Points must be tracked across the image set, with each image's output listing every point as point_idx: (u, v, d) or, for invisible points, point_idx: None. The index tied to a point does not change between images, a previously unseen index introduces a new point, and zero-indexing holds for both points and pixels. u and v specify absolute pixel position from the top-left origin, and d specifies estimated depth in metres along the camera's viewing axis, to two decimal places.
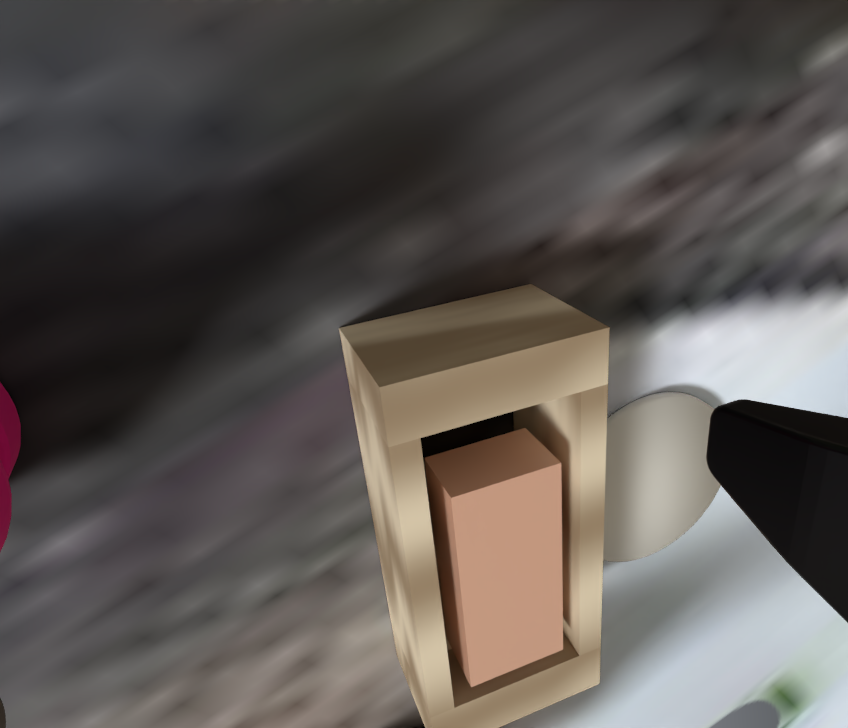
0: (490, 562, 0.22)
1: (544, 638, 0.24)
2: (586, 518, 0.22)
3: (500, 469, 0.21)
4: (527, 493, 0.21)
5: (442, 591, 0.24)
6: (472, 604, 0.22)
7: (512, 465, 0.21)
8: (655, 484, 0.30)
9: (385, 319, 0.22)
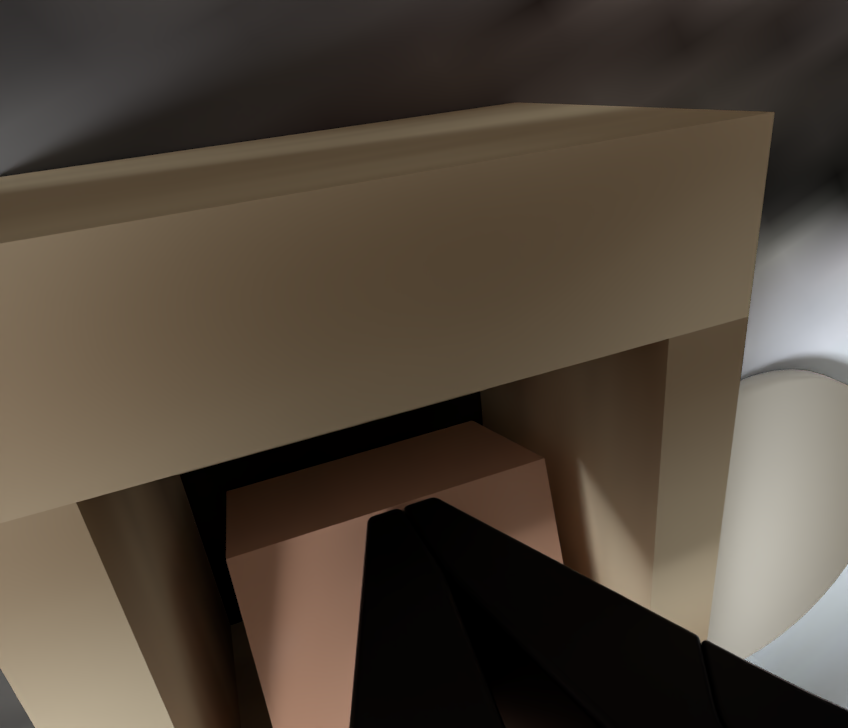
0: None
1: None
2: None
3: (389, 488, 0.08)
4: None
5: None
6: None
7: (420, 478, 0.08)
8: (755, 544, 0.16)
9: (125, 160, 0.08)
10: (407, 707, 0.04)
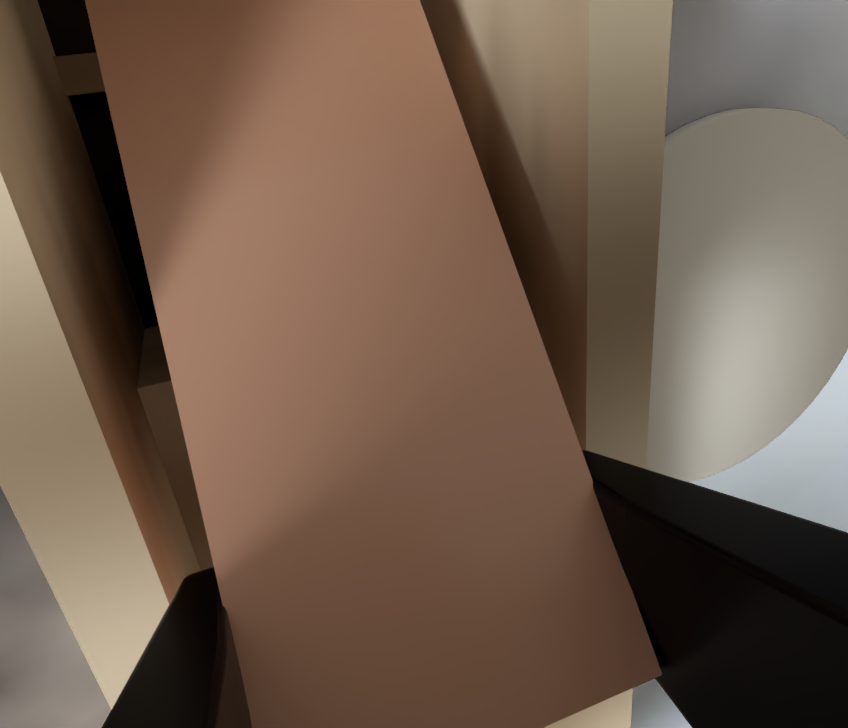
0: (256, 228, 0.07)
1: (559, 600, 0.06)
2: (604, 261, 0.07)
3: None
4: (330, 33, 0.08)
5: None
6: (211, 380, 0.06)
7: None
8: (736, 319, 0.15)
9: None
10: None
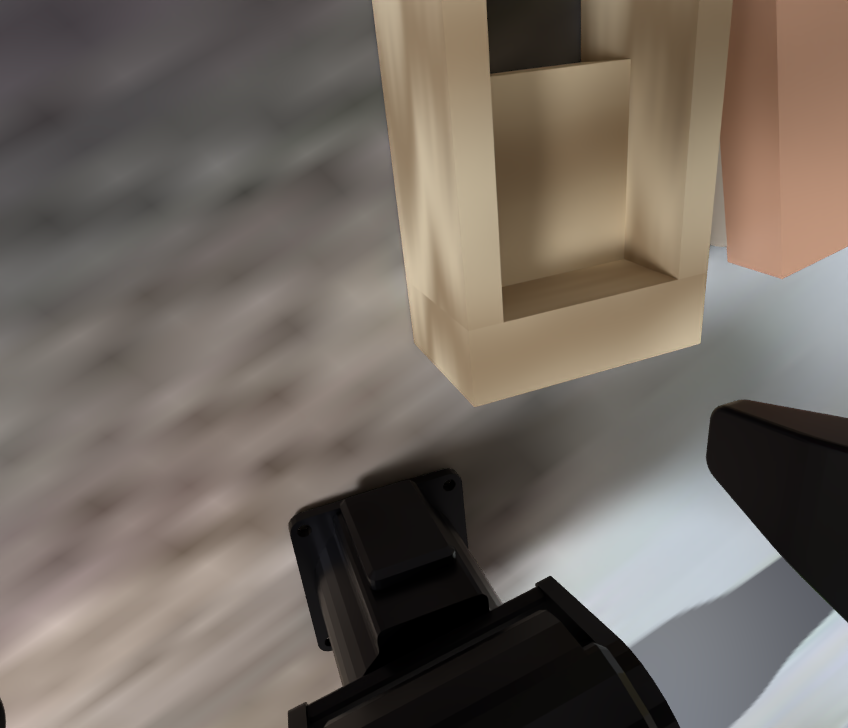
0: (809, 96, 0.19)
1: None
2: None
3: None
4: None
5: (727, 191, 0.22)
6: (788, 156, 0.20)
7: None
8: None
9: None
10: None
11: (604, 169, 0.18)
